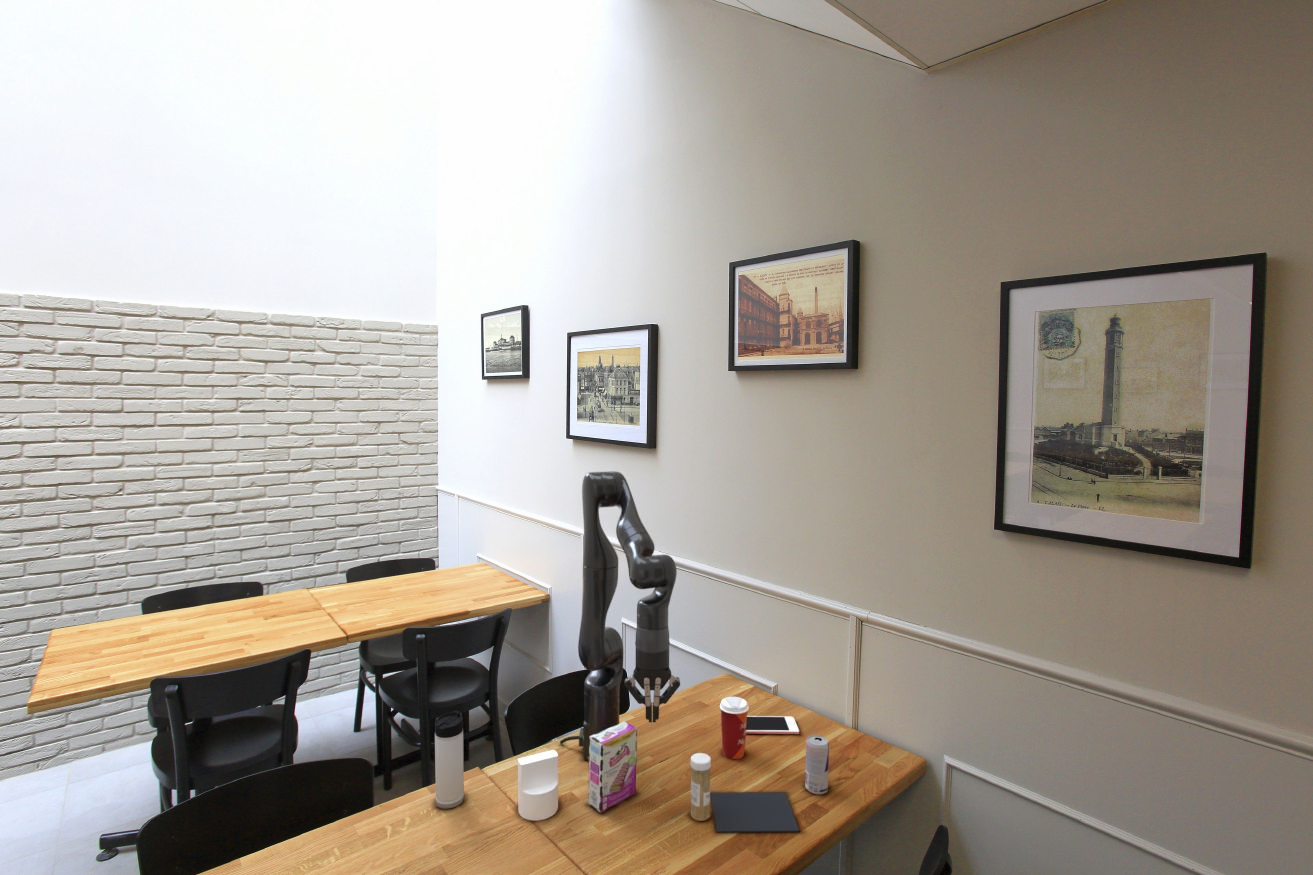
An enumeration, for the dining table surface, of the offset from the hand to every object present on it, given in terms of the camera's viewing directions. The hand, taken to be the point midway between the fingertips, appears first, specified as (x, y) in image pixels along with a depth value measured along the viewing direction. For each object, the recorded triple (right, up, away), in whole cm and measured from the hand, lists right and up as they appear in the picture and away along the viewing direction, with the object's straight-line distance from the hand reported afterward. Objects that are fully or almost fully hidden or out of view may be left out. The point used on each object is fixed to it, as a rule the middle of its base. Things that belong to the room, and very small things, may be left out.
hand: (652, 720), depth 146 cm
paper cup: (+22, -21, +28) cm, 41 cm away
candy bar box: (-9, -22, +7) cm, 25 cm away
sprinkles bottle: (+11, -22, +1) cm, 25 cm away
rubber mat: (+23, -22, +3) cm, 32 cm away
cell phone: (+32, -20, +42) cm, 56 cm away
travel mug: (-47, -22, +6) cm, 52 cm away
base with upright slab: (-26, -22, +4) cm, 34 cm away
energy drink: (+40, -22, +12) cm, 47 cm away
